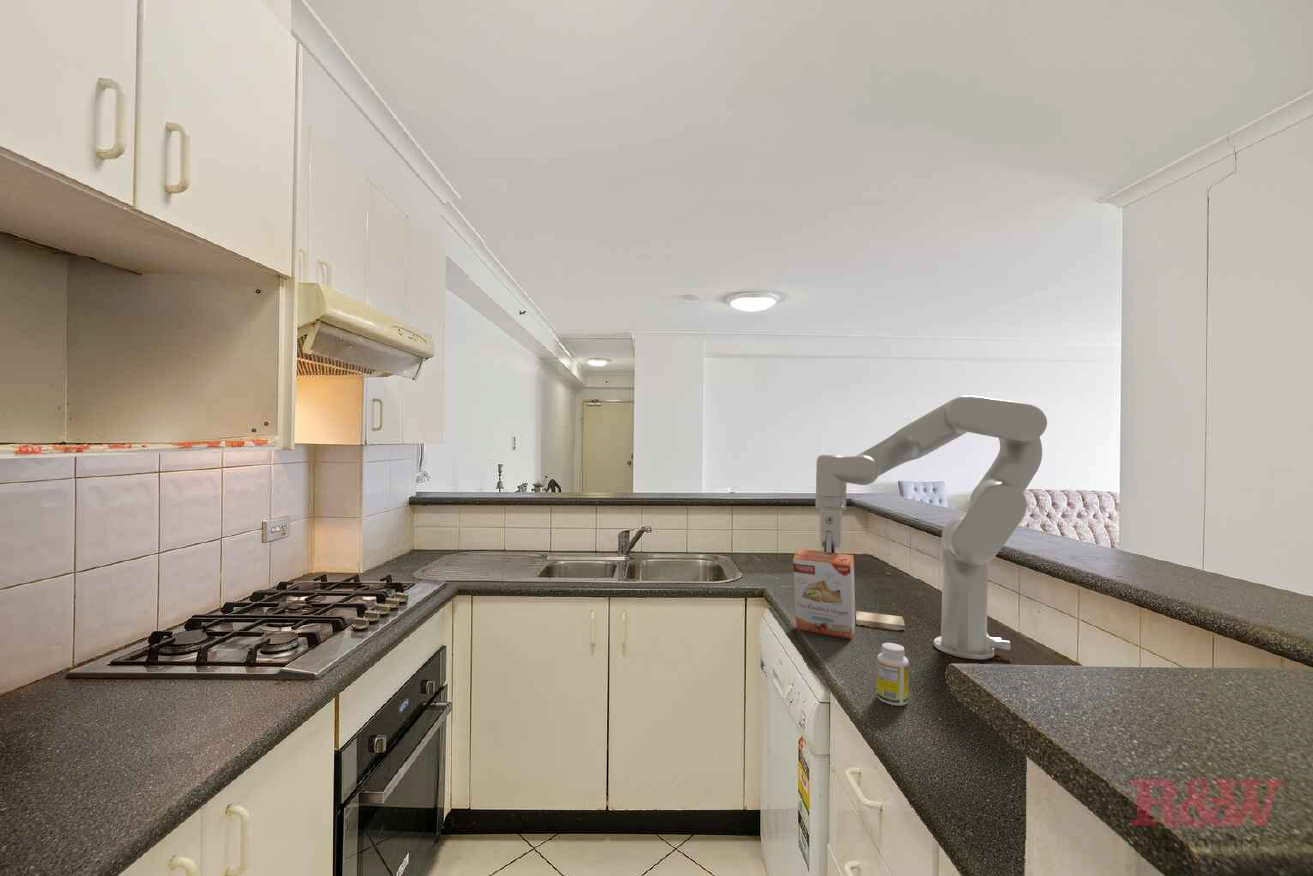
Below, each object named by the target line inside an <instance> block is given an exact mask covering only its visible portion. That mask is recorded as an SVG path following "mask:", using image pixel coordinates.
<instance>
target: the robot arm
mask: <svg viewBox="0 0 1313 876" xmlns="http://www.w3.org/2000/svg"><path fill="white" fill-rule="evenodd" d="M1047 427H1048V419H1047V416H1046V414H1045V413H1044V411H1043V410H1042V409H1040V408H1039V407H1037V406H1036V405H1034V404H1031V403H1027V402H1026V403H1025V402H1021V401H1020V402H1018V401H1012V400H1011V401H1010V400H1005V399H997V398H991V397H984V396H979V395H969V394H965V395H960V396H957V397H956V398H953V399H951V400H949V401H948V402H946V403H944V404H942V405H940V406H938V407H937V408H935V409H932V410H931V411H929V412H927V413H926V414H924V415H922V416H921V417H919V418H917V419H916V420H914V421H912V422H910V423H908V424H906V425H905V426H903V427H901V428H900V429H898V430H897V431H896V432H895V433H893V434H891V435H890V436H888V437H887V438H885V439H884V440H882V441H880V442H878V443H876V444H875V445H873V446H872V447H870V448H868V449H866V450H864V451H863V452H861V453H859V454H857V455H856V456H855V455H854V456H853V455H852V456H843V455H839V454H821V455H818V457H817V459H816V469H815V472H816V474H815V475H816V476H815V508H816V509H819V511H820V512H819V537H820V539H819V540H820V547H821V548H823V552H826V554H831V553H836V548H837V550H840V549H841V548H842V536H843V535H842V534H843V533H842V532H843V530H842V528H843V514H842V513H843V512H842V511H843V510H846V509H847V486H848V485H847V484H853V485H856V486H857V485H858V486H868V485H871V484H873V483H874V482H875V481H876V480H877V479H878V477H879V476H882V475H883V474H886V473H887V472H889V471H891V470H892V469H894V468H897V467H898V466H900V465H903V464H905V463H908V462H911V461H914V460H919V459H921V458H922V457H925V456H927V455H930V453H932V452H934V451H936V450H938V449H939V448H941V447H943V446H945V445H946V444H948V443H951V442H952V441H954V440H957V439H958V438H960V437H962V436H964V435H965V434H967V433H971V434H976V435H982V436H985V437H986V436H987V437H992V438H998V441H999V451H998V454H997V456H996V458H995V459H994V461H993V462H992V464H991V466H990V467H989V469H988V470H987V471H986V473H985V474H984V475H983V477H982V478H981V480H980V481H979V482H978V484H977V485H976V486H975V487H974V489H972V492H971V494H970V497H969V502H970V506H971V507H970V509H969V510H968V511H967V513H966V514H965V516H961V517H960V516H959V517H955V518H952V519H951V520H949V521H948V522H947V523H946V525H944V527H943V529H942V533H941V556H942V557H941V558H942V581H941V582H942V585H941V586H942V587H941V621H940V622H941V624H940V625H941V626H940V627H941V629H940V631H941V632H940V634H941V635H940V636H937V637H935V638H934V639H933V646H934V647H935V648H936V649H937V650H939V651H941V652H943V653H945V654H948V655H951V656H954V657H958V658H961V659H962V658H963V659H969V660H990V659H992V658H994V656H995V648H996V649H997V648H998V649H1001V650H1009V651H1010V650H1011V647H1012V645H1011V641H1010V640H1004V639H1002V638H1001V637H995V636H994V637H992V636H990V635H989V633H988V632H987V631H988V596H989V595H988V593H989V592H988V591H989V567H988V564H989V562H990V561H992V560H993V559H994V558H995V557H996V556H997V555H998V554H999V552H1000V551H1001V549H1003V547H1004V545H1005V544H1006V543H1007V542H1008V540H1009V539H1010V537H1012V535H1013V533H1014V531H1015V530H1016V529H1017V528H1018V526H1020V523H1021V522H1022V520H1023V519H1024V517H1025V515H1026V511H1027V507H1028V503H1027V498H1026V496H1025V495H1026V494H1024V492H1025V491H1026V489H1027V488H1028V486H1029V485H1030V483H1031V482H1032V481H1033V478H1034V477H1035V475H1036V474H1037V473H1038V471H1039V468H1040V466H1041V463H1042V459H1043V458H1042V457H1043V446H1042V441H1041V437H1042V435H1043V434H1044V432H1045V431H1046V430H1047Z"/></svg>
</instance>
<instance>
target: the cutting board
mask: <svg viewBox="0 0 1313 876" xmlns="http://www.w3.org/2000/svg"><path fill="white" fill-rule="evenodd" d="M856 624H857V625H856ZM855 625H856V626H860V625H865V626H864V627H867V626H869V628H875V627H876V628H878V629H884V630H894V631H899V630H904V631H903V632H906V623H905V621H904V617H903V616H899V615H891V614H884V613H874V612H866V611H860V610H859V611H858V610H857V611H856V610H855Z"/></svg>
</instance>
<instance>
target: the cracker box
mask: <svg viewBox="0 0 1313 876" xmlns="http://www.w3.org/2000/svg"><path fill="white" fill-rule="evenodd" d="M792 569H793V572H792V573H793V589H794V607H795V624H796V630H801V631H805V632H811V633H817V634H821V635H826V636H827V635H829V636H834V637H838V636H839V637H838V638H844V639H848V640H852V639H853V636H854V633H855V628H856V596H855V593H856V592H855V590H856V589H855V561H854V554H845V553H838V552H837V553H836V552H835V553H831V554H826V552H824V551H820V550H811V549H802V548H798V549H796V551H795V554H794V555H793V558H792Z"/></svg>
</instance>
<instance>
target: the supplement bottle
mask: <svg viewBox="0 0 1313 876" xmlns="http://www.w3.org/2000/svg"><path fill="white" fill-rule="evenodd" d="M880 651H881V652H880V653H878V655H877V657H876V697H877V699H878V700H879V701H880V702H882V703H884V702H885V703H884V704H886V703H887V705H889V704H890V706H894V705H895V707H896V706H900V707H901V706H905V705H907V703H908V702H909V671H910V670H909V667H910V663H909V662H910V661H909V659H908V658H907V656H905V655H906V653H905V647H904V646H902V645H901V644H897V643H893V642H884V643H882V645H881V650H880Z"/></svg>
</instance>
